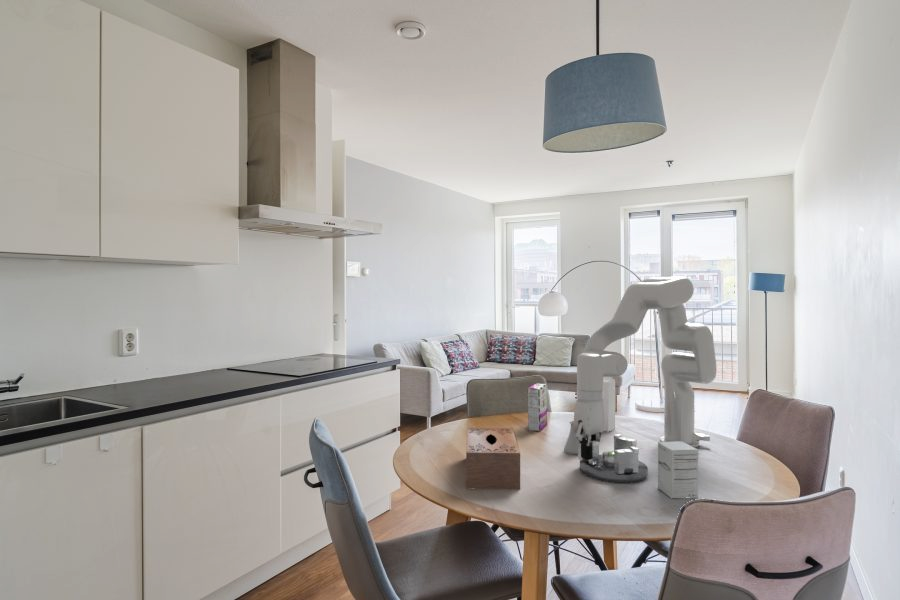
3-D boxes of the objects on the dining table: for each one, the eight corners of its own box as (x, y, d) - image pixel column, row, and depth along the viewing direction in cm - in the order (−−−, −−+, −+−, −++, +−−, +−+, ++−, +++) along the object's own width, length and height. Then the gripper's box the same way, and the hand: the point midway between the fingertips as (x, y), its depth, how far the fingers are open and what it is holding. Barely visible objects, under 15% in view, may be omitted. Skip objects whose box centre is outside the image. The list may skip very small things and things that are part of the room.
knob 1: (631, 462, 150) (631, 440, 150) (612, 457, 155) (612, 435, 155) (637, 459, 153) (637, 437, 152) (618, 454, 157) (618, 433, 157)
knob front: (585, 457, 154) (585, 436, 154) (600, 463, 149) (600, 441, 149) (576, 459, 153) (576, 437, 153) (591, 465, 147) (591, 442, 147)
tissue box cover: (467, 458, 162) (467, 427, 162) (512, 459, 161) (512, 427, 161) (466, 489, 136) (466, 452, 136) (520, 490, 136) (520, 453, 135)
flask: (586, 455, 163) (586, 425, 163) (563, 454, 165) (563, 424, 165) (585, 449, 171) (585, 419, 170) (563, 448, 172) (563, 418, 172)
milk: (608, 432, 191) (608, 374, 191) (593, 429, 195) (593, 372, 195) (615, 429, 196) (615, 372, 195) (600, 426, 200) (600, 370, 199)
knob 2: (613, 470, 143) (613, 447, 143) (632, 468, 144) (632, 445, 144) (620, 474, 140) (620, 451, 140) (639, 473, 141) (639, 449, 141)
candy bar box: (535, 423, 204) (535, 383, 204) (547, 425, 202) (547, 383, 202) (527, 430, 194) (527, 387, 194) (540, 431, 192) (539, 388, 192)
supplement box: (656, 488, 136) (656, 441, 136) (683, 487, 137) (683, 440, 136) (671, 499, 129) (671, 449, 128) (699, 498, 129) (699, 449, 129)
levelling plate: (645, 464, 155) (645, 446, 155) (650, 486, 137) (650, 466, 137) (581, 458, 161) (581, 441, 161) (577, 479, 143) (577, 459, 143)
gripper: (593, 389, 159) (593, 448, 159) (562, 397, 147) (562, 460, 148) (615, 393, 153) (615, 454, 153) (585, 401, 142) (585, 466, 142)
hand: (589, 456), depth 150 cm, fingers open, 3 cm apart
